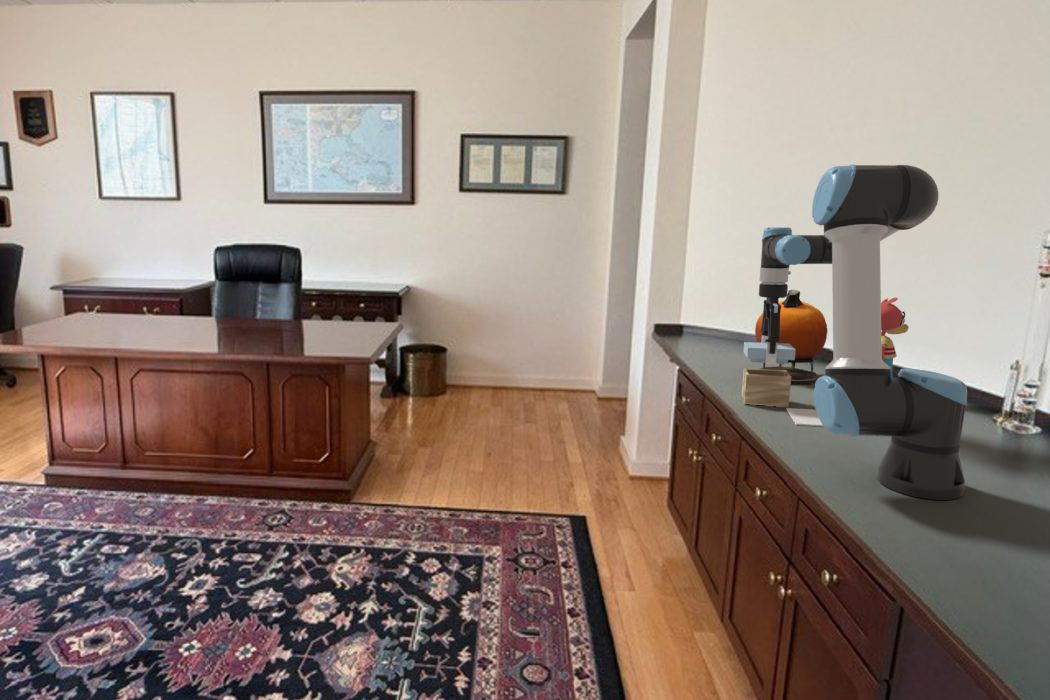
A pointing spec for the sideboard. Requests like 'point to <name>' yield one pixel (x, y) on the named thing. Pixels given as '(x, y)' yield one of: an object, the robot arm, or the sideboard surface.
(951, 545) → the sideboard surface
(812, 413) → the pad
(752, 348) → the lid
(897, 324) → the toy
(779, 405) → the box
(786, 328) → the pumpkin
